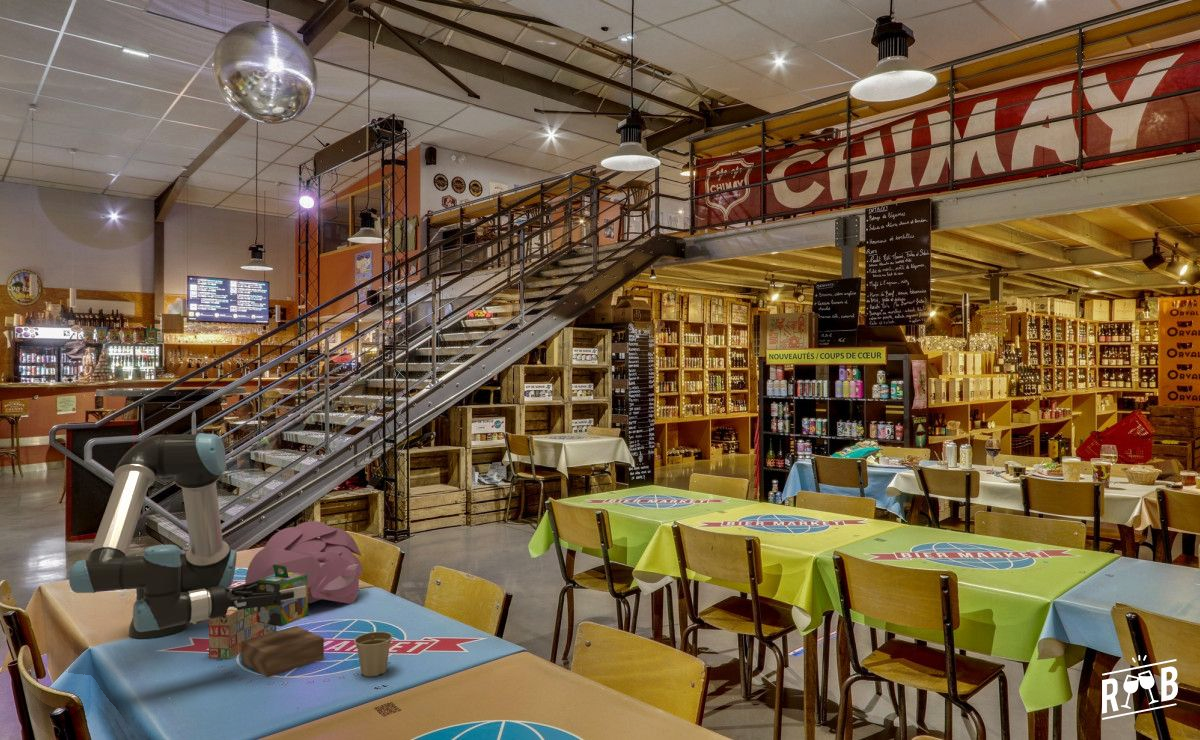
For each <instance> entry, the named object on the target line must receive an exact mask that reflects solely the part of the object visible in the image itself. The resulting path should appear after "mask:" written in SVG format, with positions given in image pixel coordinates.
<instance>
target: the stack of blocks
mask: <svg viewBox="0 0 1200 740" xmlns="http://www.w3.org/2000/svg"><path fill="white" fill-rule="evenodd" d="M208 624H209V625H208V644H209V645H208V659H216V660H218V659H219V660H220V659H221V660H231V659H232V658H234V657H236V656H238V655H239V654H242V641H243V640H247V639H251V638H254V637H258V636H262V635H265V634H269V633H273V632H276V631H277V627H278V626H275V625H270V624H265V623H260V622H259V623H258V607H254V608H246V609H241V610H237V608H234V607H229V608H228V610H227V613H226V615H225V616H222V617H217V618H212V619H210V618H209V617H208Z"/></svg>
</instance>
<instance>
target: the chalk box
mask: <svg viewBox="0 0 1200 740" xmlns="http://www.w3.org/2000/svg"><path fill="white" fill-rule="evenodd" d="M273 568H274V572H275V574H273V575H270V576H267V577H265V578H261V579H258V580H257V593H271V592H279V591H280V590H286V589H291V588H296V587H301V586H306V597H302V598H297V599H292V600H287V601H282V602H281V605H280V606H277V605H272V606H263V607H258V623H259V622H260V623H265V624H270V625H275V626H277V627H280V628H281V627H283V626H287V625H288V624H291V623H293V622H296V621H298V620H302V619H304V618H307V617H309V603H308V589H307V574H303V573H293V572H287V569H286V566H284V565H276V564H273ZM278 569H282V570H283V572H282V573H279V572H278ZM274 600H275V598H274Z"/></svg>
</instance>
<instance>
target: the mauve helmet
mask: <svg viewBox="0 0 1200 740" xmlns="http://www.w3.org/2000/svg"><path fill="white" fill-rule="evenodd" d="M361 553H362V552H360V549H359V547H358V545H357V542H356V541H355V539H354V538H353V536H352V535H351V534H350V533H348V532H347V531H346V530H344V529H341V528H338V527H337V528H336V527H332V526H331V525H328V524H326V523H324V522H321V521H315V520H311V521H305V522H301V523H299V524H297V525H296V526H292V527H291V526H290V527H285V528H283V529H281V530H279V531H278V532H276V533H274V534H273V535H272V536H271V537H270V538H269V540H268V541H267V542H266V544H265V545H264V547H263V548H262V549H260V550H259V551H258V552H257V553H255V555H254V556H253V557H252V559H251V561H250V562H249V565H248V567H247V569H246V570H247V571H246V574H245V581H244V582H245V583H244V584H247V583H251V582H254V581H257V580H258V579H261V578H265V577H267V576H270V575H273V574H275V572H274V568H273V564H276V565H284V566H286V569H287V572H293V573H303V574H307V589H308V604H312V603H314V602H317V601H320V600H325V601H332V602H337V603H343V604H349V605H351V604H353V603H354V602H355V601H356V599H357V596H358V595H359V592H360V589H359V586H360V584H359V583H360V582H359V581H360V580H359V576H361V575H362V574H363V573H364V568H363V565H362V563H361V561H360V560H359V558H358V556H362V554H361ZM355 554H356V555H358V556H356V555H355ZM278 572H279V573H282V572H283V570H282V569H278Z"/></svg>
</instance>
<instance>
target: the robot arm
mask: <svg viewBox="0 0 1200 740" xmlns="http://www.w3.org/2000/svg"><path fill="white" fill-rule="evenodd" d="M226 456H227V453H226V448H225V445H224V442H223V440H222V438H221V437H220V436H219V435H217V434H216V433H204V432H200V433H193V434H191V433H190V434H189V433H188V434H186V433H185V434H156V435H153V436H149V437H147V438H145V439H142V440H141V441H139V442H138V443H136V444H134V445H133V446H132V447H131V448H130V449H129V450H128V451H127V452H125V454H124V455H123V456H122V457H121V459H120V460H119V461H118V463H117V465H116V467H115V469H114V472H113V479H114V486H113V488H112V490H111V491H112V492H111V494H110V496H109V500H108V502H107V506H106V508H105V511H104V513H103V515H102V516H103V517H102V519H101V521H100V524H99V527H98V530H97V533H96V536H95V538H94V540H93V544H92V547H91V549H90V553H89V556H88V558H87V559H82V560H76V561H75V562H74V563H73V564H72V566H71V568H70V571H69V576H68V580H69V582H68V583H69V587H70V589H71V591H72V592H74V593H75V594H81V593H82V594H89V593H90V594H94V593H101V592H102V593H103V592H113V591H122V590H123V591H125V590H136V592H135V596H136V597H135V602H134V603H133V607H132V609H133V610H132V618H131V621H130V624H129V627H128V628H129V629H128V636H129V637H131V638H134V639H152V638H153V639H154V638H160V637H164V636H169V635H174V634H176V633H179V632H181V631H184V630H185V629H186V628H188V626H189V624H190V623H192V625H196V624H197V622H199V621H206V620H207V619H209V618H210V619H212V618H217V617H222V616H225V615H226V613H227V610H228V608H229V607H234V608H237V610H241V609H246V608H254V607H263V606H272V605H277V606H280V605H281V602H282V601H287V600H292V599H297V598H302V597H306V586H301V587H296V588H291V589H286V590H280V591H279V592H271V593H257V581H254V582H251V583H247V584H245V583H244V584H241V585H237V586H233V587H232V585H233V581H234V578H235V577H234V576H235V571H236V565H237V557H238V556H237V551H236V550H235V549H230V545H229V544H228V543H227V542H226V541H224V540H223V539H224V538H223V531H222V523H221V515H220V514H221V513H220V506H219V498H218V491H217V490H218V488H217V482H218V481H219V479H220V478H221V475H223V474H224V473H225V471H226V468H227V467H226V466H227V459H226ZM160 477H165V478H166V477H173V479H174V483H175V485H176V486H177V487H179V488H181V490H182V498H183V502H184V503H183V504H184V505H183V506H184V510H185V520H186V525H187V531H188V533H187V534H188V539H189V545H190V547H189V548H188V549H187V551H186V553H183V551H182V549H180V547H179V546H178V545H175V544H160V545H154V546H150V547H147V548H146V549H145V550H144V552H143V555H138V556H137V555H135V556H127V555H128V552H129V549H130V545H131V544H132V543H131V542H132V540H133V537H134V534H135V530H136V527H137V523H138V521H139V518H140V514H141V511H142V508H143V505H144V501H145V499H146V496H147V494H148V493H147V492H148V490H149V489H148V488H150V487H151V486H153V484H154V483H155V482H156V478H160ZM274 598H275V600H274Z"/></svg>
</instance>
